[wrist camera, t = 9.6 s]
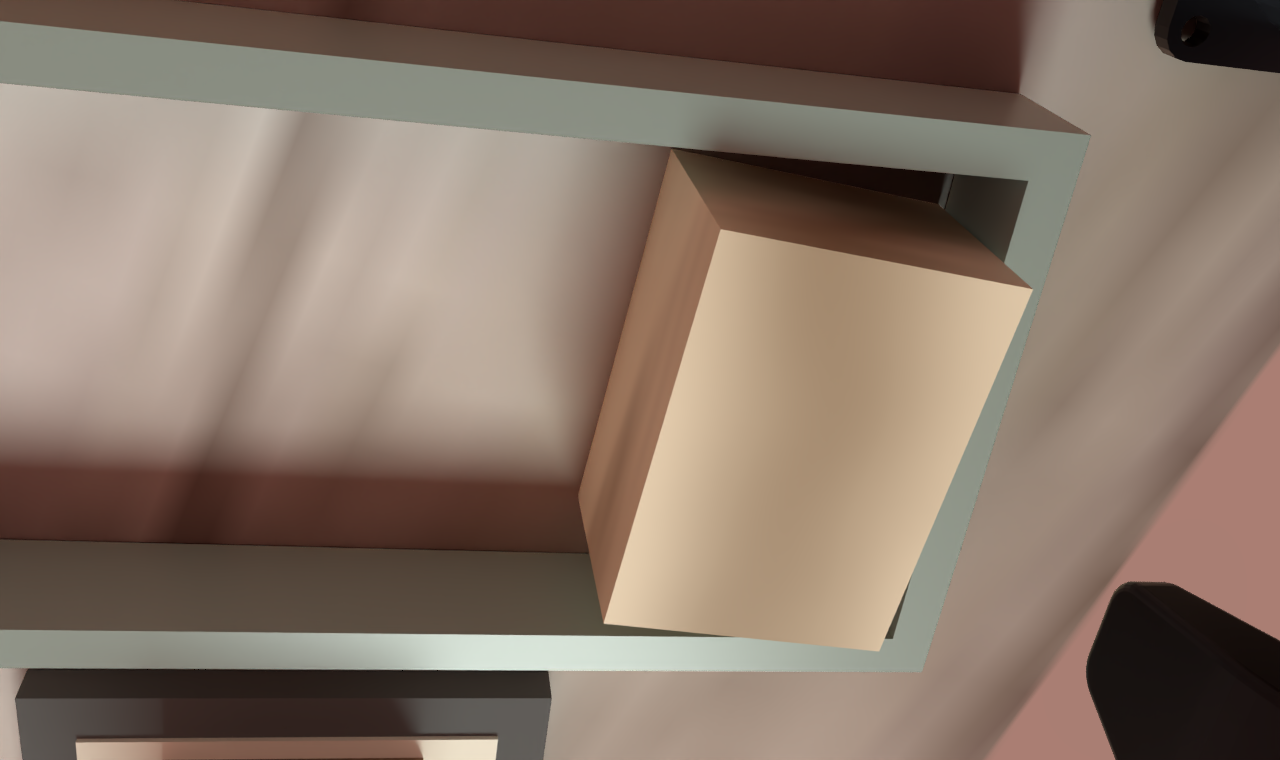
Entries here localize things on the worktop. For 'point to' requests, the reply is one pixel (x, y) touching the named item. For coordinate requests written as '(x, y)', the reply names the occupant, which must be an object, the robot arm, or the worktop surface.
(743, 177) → the maple box
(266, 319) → the worktop surface
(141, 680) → the pad
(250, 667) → the parts bin
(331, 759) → the walnut block
